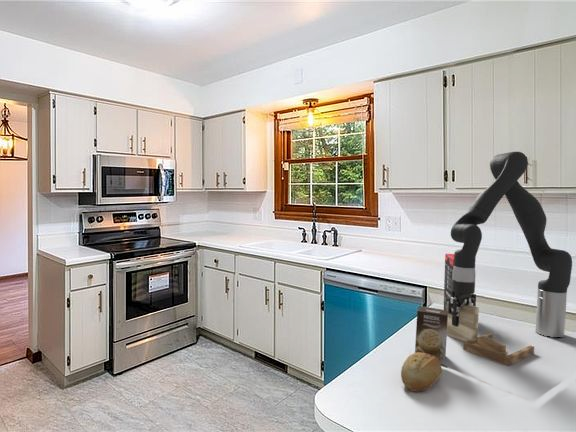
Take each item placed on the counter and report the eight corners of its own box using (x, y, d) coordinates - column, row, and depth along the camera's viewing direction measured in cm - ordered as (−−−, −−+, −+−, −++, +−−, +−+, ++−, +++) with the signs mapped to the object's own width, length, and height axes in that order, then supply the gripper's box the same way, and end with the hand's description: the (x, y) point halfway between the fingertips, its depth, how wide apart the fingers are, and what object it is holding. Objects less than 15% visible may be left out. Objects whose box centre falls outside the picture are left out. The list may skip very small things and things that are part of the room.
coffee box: (413, 360, 117) (415, 310, 117) (415, 353, 123) (417, 305, 123) (445, 367, 114) (447, 315, 113) (446, 359, 119) (448, 309, 119)
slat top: (485, 342, 126) (486, 336, 126) (505, 351, 118) (506, 345, 118) (477, 343, 125) (477, 337, 125) (496, 352, 117) (497, 346, 117)
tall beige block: (450, 334, 140) (452, 300, 140) (477, 343, 132) (478, 307, 132) (445, 336, 138) (447, 301, 138) (471, 345, 130) (473, 308, 130)
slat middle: (479, 347, 126) (479, 342, 126) (507, 357, 118) (507, 351, 118) (472, 350, 124) (473, 344, 123) (500, 360, 116) (501, 354, 116)
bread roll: (446, 378, 106) (448, 351, 106) (431, 400, 95) (432, 369, 94) (413, 368, 112) (414, 342, 112) (394, 387, 100) (395, 358, 100)
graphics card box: (468, 326, 152) (471, 259, 151) (450, 324, 153) (453, 258, 152) (457, 314, 169) (460, 254, 167) (441, 312, 170) (444, 253, 169)
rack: (489, 342, 135) (490, 333, 134) (533, 357, 123) (534, 346, 123) (462, 352, 125) (463, 342, 125) (508, 369, 113) (508, 358, 113)
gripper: (464, 275, 141) (462, 318, 142) (442, 279, 133) (440, 324, 134) (484, 279, 135) (482, 323, 136) (462, 283, 127) (460, 330, 128)
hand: (461, 324), depth 135 cm, fingers open, 7 cm apart
